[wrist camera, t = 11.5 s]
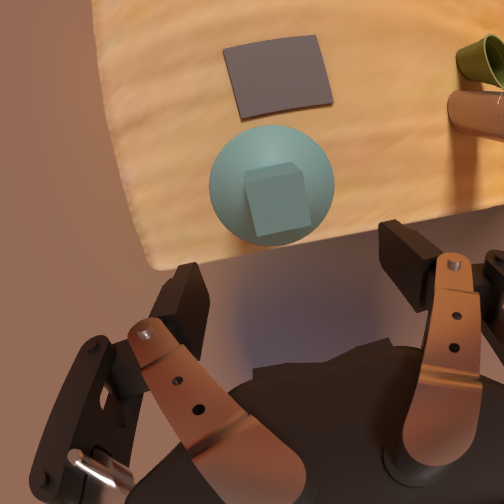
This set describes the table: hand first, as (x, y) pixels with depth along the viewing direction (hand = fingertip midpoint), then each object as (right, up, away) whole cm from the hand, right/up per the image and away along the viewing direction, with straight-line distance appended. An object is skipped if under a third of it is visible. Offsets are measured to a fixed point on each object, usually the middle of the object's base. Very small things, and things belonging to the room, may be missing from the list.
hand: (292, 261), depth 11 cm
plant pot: (+43, +39, +19) cm, 61 cm away
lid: (0, +6, +12) cm, 14 cm away
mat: (+3, +28, +24) cm, 37 cm away
